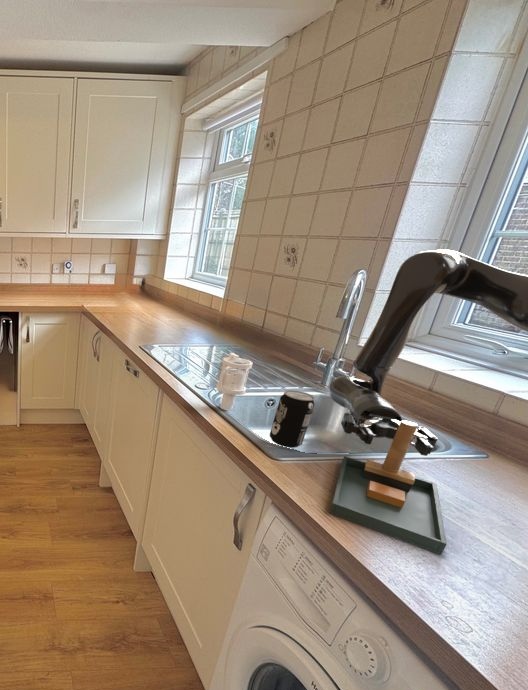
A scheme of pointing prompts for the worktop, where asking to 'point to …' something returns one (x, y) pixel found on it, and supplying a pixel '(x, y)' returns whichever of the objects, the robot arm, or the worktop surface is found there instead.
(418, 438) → the robot arm
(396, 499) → the orange wooden block
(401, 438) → the brush
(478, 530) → the worktop surface
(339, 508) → the tray
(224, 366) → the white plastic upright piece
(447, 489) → the worktop surface
